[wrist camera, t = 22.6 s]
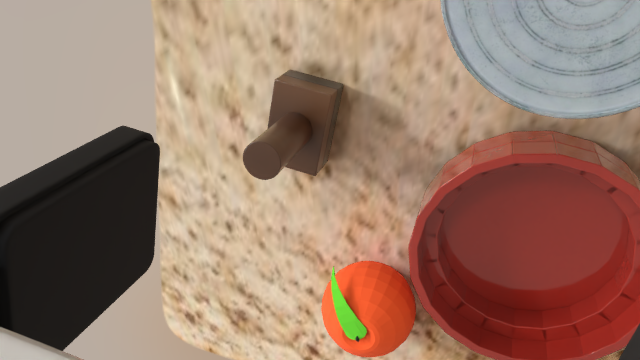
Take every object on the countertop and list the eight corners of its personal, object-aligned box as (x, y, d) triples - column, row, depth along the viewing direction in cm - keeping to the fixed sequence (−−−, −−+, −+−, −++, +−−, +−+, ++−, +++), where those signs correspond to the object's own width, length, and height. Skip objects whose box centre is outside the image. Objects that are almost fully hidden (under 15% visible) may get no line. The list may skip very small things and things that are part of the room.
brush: (289, 69, 40) (236, 103, 32) (343, 84, 39) (302, 122, 31) (277, 146, 42) (225, 195, 34) (327, 161, 42) (285, 214, 34)
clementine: (312, 251, 45) (281, 303, 39) (386, 219, 42) (365, 269, 36) (363, 328, 47) (341, 390, 40) (438, 303, 44) (426, 365, 37)
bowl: (453, 100, 37) (446, 123, 33) (697, 165, 34) (725, 199, 30) (397, 282, 44) (385, 321, 40) (597, 349, 41) (608, 399, 37)
